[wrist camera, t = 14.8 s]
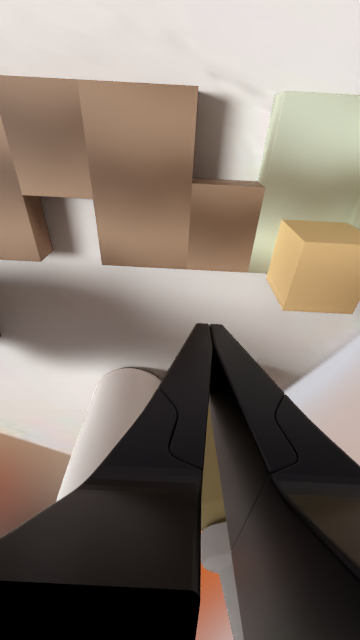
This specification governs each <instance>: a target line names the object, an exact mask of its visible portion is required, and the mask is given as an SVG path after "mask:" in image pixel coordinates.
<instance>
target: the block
mask: <svg viewBox="0 0 360 640" xmlns="http://www.w3.org/2000/svg"><path fill="white" fill-rule="evenodd" d="M266 279H267V281H268V283H269V285H270V287H271V289H272V290H273V292H274V294H275V296H276V298H277V300H278V302H279V304H280V306H281V308H282V310H284V311H303V312H322V313H341V314H353V312H354V310H355V308H356V306H357V304H358V302H359V300H360V230H359V229H357V228H355V227H354V226H352V225H350V224H348V223H342V222H323V221H304V220H285V219H282V220H281V224H280V228H279V232H278V236H277V239H276V243H275V247H274V251H273V255H272V259H271V263H270V267H269V270H268V274H267V278H266Z"/></svg>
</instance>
